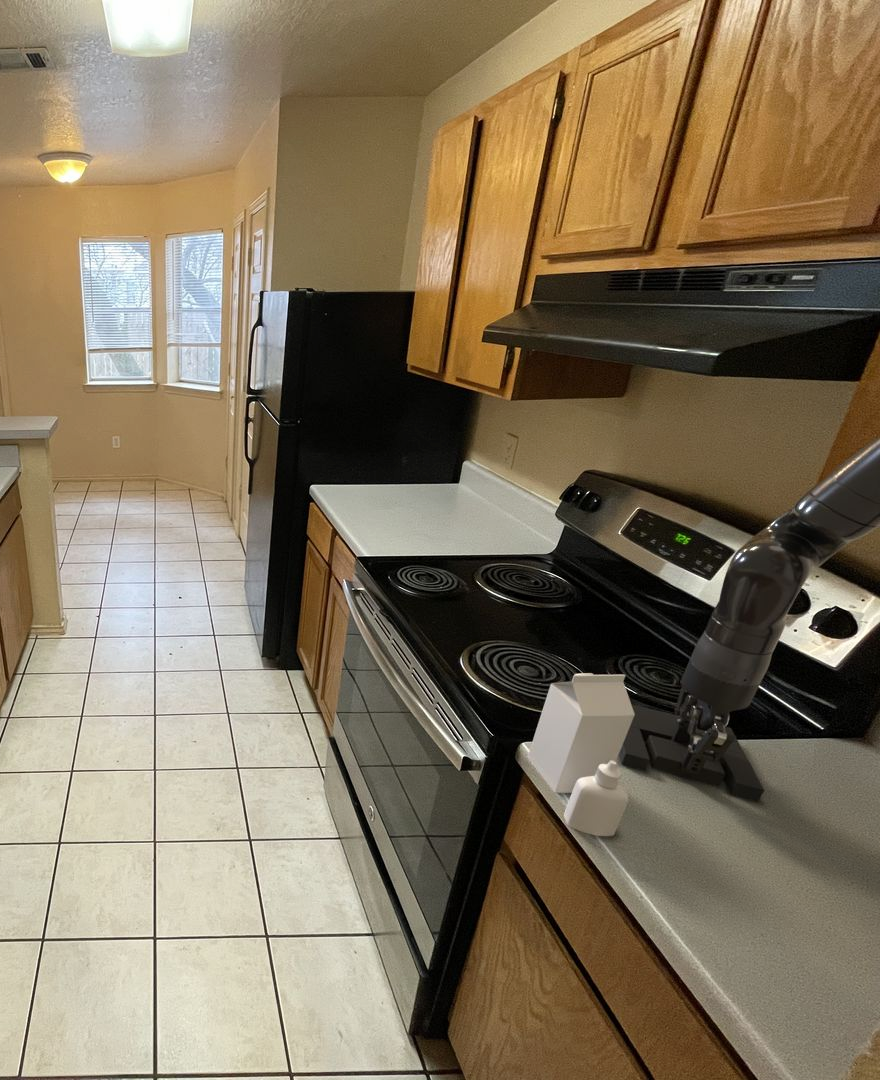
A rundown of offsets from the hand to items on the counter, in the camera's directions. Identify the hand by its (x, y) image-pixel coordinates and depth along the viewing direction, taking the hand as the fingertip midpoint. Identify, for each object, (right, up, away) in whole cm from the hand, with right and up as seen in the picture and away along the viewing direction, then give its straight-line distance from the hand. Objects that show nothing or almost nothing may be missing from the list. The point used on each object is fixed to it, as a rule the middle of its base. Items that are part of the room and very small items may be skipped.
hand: (683, 758), depth 89 cm
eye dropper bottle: (-21, -7, -8) cm, 23 cm away
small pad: (0, -2, +1) cm, 2 cm away
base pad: (+1, -1, +4) cm, 4 cm away
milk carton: (-19, -3, 0) cm, 19 cm away
